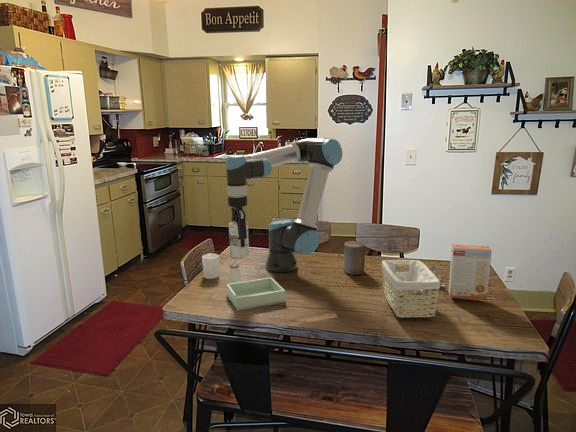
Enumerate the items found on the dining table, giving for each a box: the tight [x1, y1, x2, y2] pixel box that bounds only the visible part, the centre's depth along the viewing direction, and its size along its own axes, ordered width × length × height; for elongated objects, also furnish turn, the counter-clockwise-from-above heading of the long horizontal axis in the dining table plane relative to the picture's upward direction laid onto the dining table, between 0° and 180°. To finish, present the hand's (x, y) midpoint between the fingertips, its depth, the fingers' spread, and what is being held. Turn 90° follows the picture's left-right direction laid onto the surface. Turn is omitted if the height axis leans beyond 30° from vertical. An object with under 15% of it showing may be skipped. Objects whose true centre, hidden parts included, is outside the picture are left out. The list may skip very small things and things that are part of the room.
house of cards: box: [430, 265, 446, 287], centre depth 181 cm, size 9×9×8 cm
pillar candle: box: [343, 240, 366, 275], centre depth 194 cm, size 10×10×15 cm
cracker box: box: [448, 243, 493, 301], centre depth 165 cm, size 14×6×21 cm, turn 76°
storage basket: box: [381, 259, 441, 319], centre depth 157 cm, size 24×16×15 cm
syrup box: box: [228, 220, 250, 260], centre depth 164 cm, size 6×6×14 cm
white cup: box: [201, 253, 220, 280], centre depth 189 cm, size 8×8×10 cm
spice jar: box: [228, 262, 242, 284], centre depth 178 cm, size 5×5×10 cm
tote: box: [226, 277, 286, 312], centre depth 165 cm, size 20×16×5 cm
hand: (239, 251), depth 166 cm, fingers closed on syrup box, 8 cm apart
